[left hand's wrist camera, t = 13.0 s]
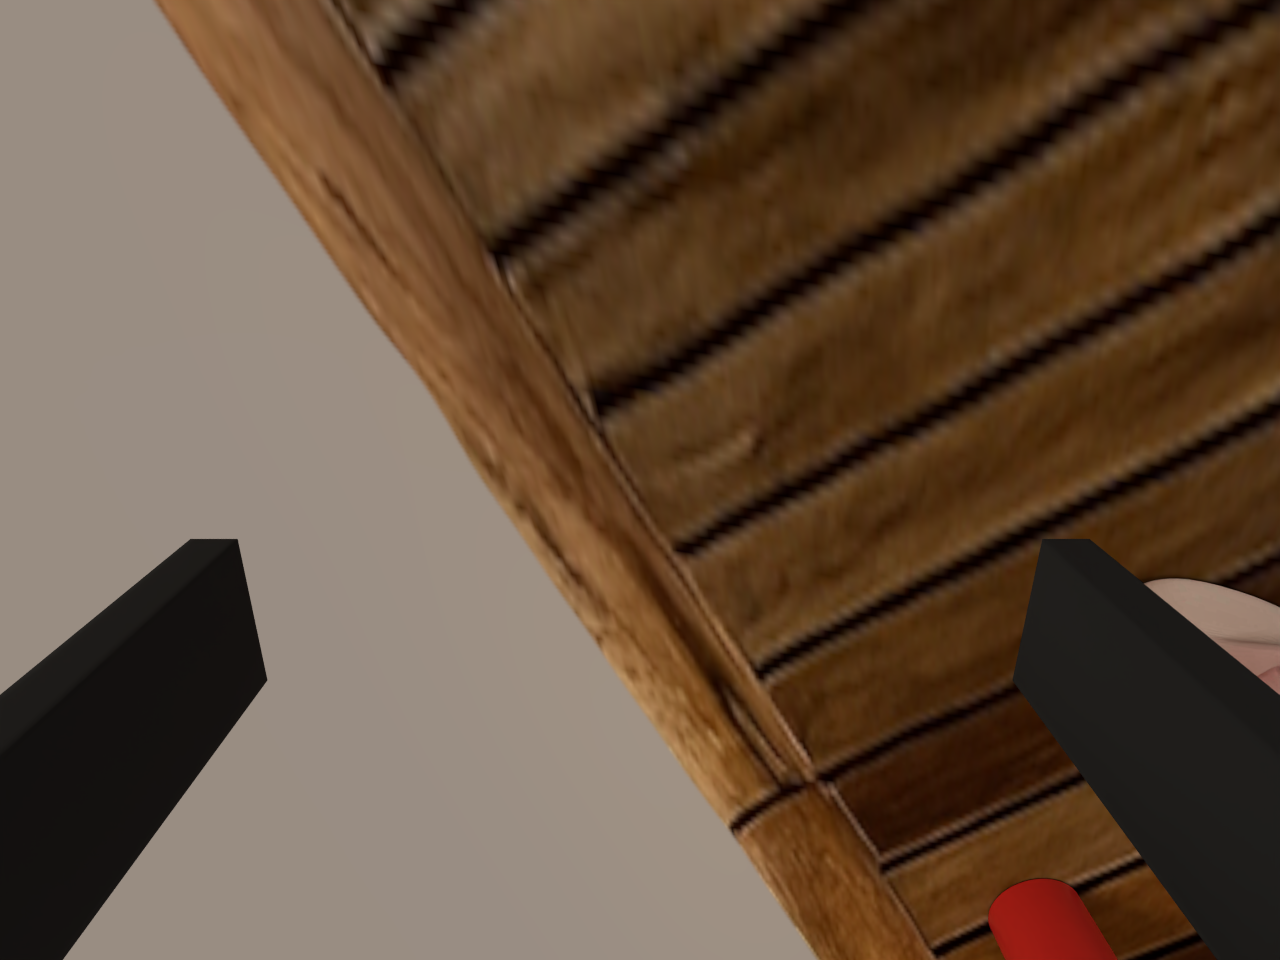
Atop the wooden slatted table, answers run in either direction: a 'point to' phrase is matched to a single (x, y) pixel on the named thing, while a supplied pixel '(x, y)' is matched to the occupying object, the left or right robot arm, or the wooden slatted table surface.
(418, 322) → the wooden slatted table surface
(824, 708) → the wooden slatted table surface
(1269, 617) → the anatomical model
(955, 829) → the wooden slatted table surface
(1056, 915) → the red cylinder
